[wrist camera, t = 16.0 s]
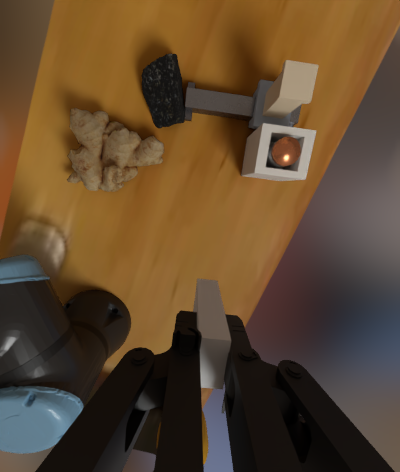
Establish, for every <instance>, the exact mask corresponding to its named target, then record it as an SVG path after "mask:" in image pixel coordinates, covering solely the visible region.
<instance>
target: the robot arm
mask: <svg viewBox="0 0 400 472" xmlns="http://www.w3.org/2000/svg"><path fill="white" fill-rule="evenodd" d="M49 279H50V277H49V276H47V275H46V273H45V272H44V270H43V268H42V267H41V265H40V263H39V261H38V260H37V259H36V258H35V257H33V256H30V255H18V256H13V257H9V258H5V259H1V260H0V450H2V451H6V452H12V453H33V452H38V451H42V450H45V449H48V448H50V447H52V446H54V445H55V444H56V445H55V447H54V448H53V449H52V451H51V452H50V453H49V455H48V456H47V457H46V458H45V460H44V461H43V462H42V464H41V465H40V466H39V468H38V469H37V470H36V471H35V472H122V470H123V468H124V466H125V464H126V462H127V459H128V457H129V455H130V453H131V451H132V448H133V446H134V444H135V442H136V440H137V437H138V435H139V433H140V431H141V429H142V426H143V424H144V422H145V420H146V418H147V415H148V413H149V410H150V409H152V408H156V407H160V406H163V412H162V419H161V426H160V433H159V440H158V447H157V454H156V461H155V468H154V472H204V471H203V469H204V468H203V437H202V405H201V387H202V388H214V389H223V385H224V382H225V395H224V400H223V406H222V413H224V411H225V410H226V418H227V426H228V433H229V441H230V448H231V456H232V463H233V470H234V472H394V470H393V469H392V468H391V467H390V466H389V465H388V464H387V462H386V461H385V460H384V459H383V458H382V456H381V455H380V454H379V453H378V452H377V451H376V450H375V448H374V447H373V446H372V445H371V444H370V443H369V442H368V440H367V439H366V438H365V437H364V436H363V435H362V433H361V432H360V431H359V430H358V429H357V428H356V427H355V426H354V424H353V423H352V422H351V421H350V420H349V419H348V417H347V416H346V415H345V414H344V413H343V412H342V411H341V409H340V408H339V407H338V406H337V405H336V404H335V402H334V401H333V400H332V399H331V398H330V397H329V396H328V394H327V393H326V392H325V391H324V390H323V389H322V388H321V386H320V385H319V384H318V383H317V382H316V381H315V379H314V378H313V377H312V376H311V375H310V374H309V373H308V371H307V370H306V369H305V368H304V367H302V366H301V365H300V364H298V363H296V362H293V361H291V360H283V361H280V363H279V364H278V366H275V365H272V364H269V363H266V362H264V361H262V360H261V358H260V356H259V354H258V353H257V352H256V351H255V350H254V349H252V348H251V345H250V342H249V339H248V336H247V333H246V331H245V328H244V325H243V322H242V320H241V319H240V318H239V317H238V316H236V315H226V314H225V311H224V307H223V303H222V299H221V294H220V290H219V286H218V281H215V280H206V279H197V286H196V294H195V301H194V309H193V312H190V311H180V312H179V313H178V314H177V316H176V323H175V330H174V333H173V339H172V346H171V348H170V349H169V350H168V351H166V352H164V353H161V354H157V355H154V353H153V352H152V351H151V350H149V349H147V348H141V347H140V348H134V349H132V350H130V351H128V352H127V353H126V354H125V355H124V357H123V358H122V359H121V360H120V362H119V363H118V364H117V366H116V367H115V368H114V370H113V371H112V372H111V374H110V375H109V376H108V377H107V379H106V380H105V381H104V383H103V384H102V385H101V387H100V388H99V389H98V390H97V392H96V393H95V394H94V396H93V397H92V398H91V400H90V401H89V402H88V404H87V405H86V406H85V407H84V405H85V403H86V401H87V399H88V397H89V394H90V392H91V390H92V388H93V386H94V384H95V382H96V380H97V378H98V376H99V374H100V372H101V370H102V368H103V366H104V364H105V362H106V360H107V359H108V358H109V357H110V356H111V355H112V354H113V353H115V352H116V351H117V350H118V349H119V348H120V347H121V346H122V345H123V343H124V342H125V340H126V338H127V336H128V334H129V331H130V328H131V318H130V314H129V311H128V309H127V308H126V306H125V305H124V304H123V302H122V301H121V300H119V299H118V298H117V297H115V296H114V295H112V294H110V293H107V292H104V291H100V290H88V291H83V292H80V293H78V294H76V295H75V296H73V297H72V298H71V299H70V300H69V301H68V302H66V303H65V304H64V306H62V304H61V302H60V300H59V298H58V296H57V294H56V292H55V290H54V288H53V286H52V284H51V282H50V280H49ZM83 407H84V409H83ZM82 409H83V410H82Z"/></svg>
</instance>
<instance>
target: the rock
mask: <svg viewBox="0 0 400 472" xmlns="http://www.w3.org/2000/svg"><path fill="white" fill-rule="evenodd" d="M142 90H143V94H144V97H145V99H146V102H147V104H148V106H149V109H150V112H151V114H152V118H153V122H154V124H155V126H156V127H157V128H162V127H169V126H171V125H173V124H177V123H183V122H184V119H185V106H184V97H183V90H182V77H181V73H180V69H179V66H178V60H177V55H176V54H172V53H171V54H166V55H165V56H163V57H159V58H158V59H156V60H155V61H154V62H152V63H150V65H147V66H146V68H145V69H144V70H143V73H142Z"/></svg>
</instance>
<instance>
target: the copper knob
mask: <svg viewBox="0 0 400 472" xmlns="http://www.w3.org/2000/svg"><path fill="white" fill-rule="evenodd" d="M300 153H301V147H300V144H299V142H298V141H297V140H296V139H295V138H293V137H283V138H281V139H279V140H278V141H276V142H274V143H272V144H270V145H269V150H268V156H267V161H266V167H267V168H274V169H275V168H279V167H284V166H288V165H291V164H293V163H295V162H296V161H297V160H298V158H299V156H300Z"/></svg>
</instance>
